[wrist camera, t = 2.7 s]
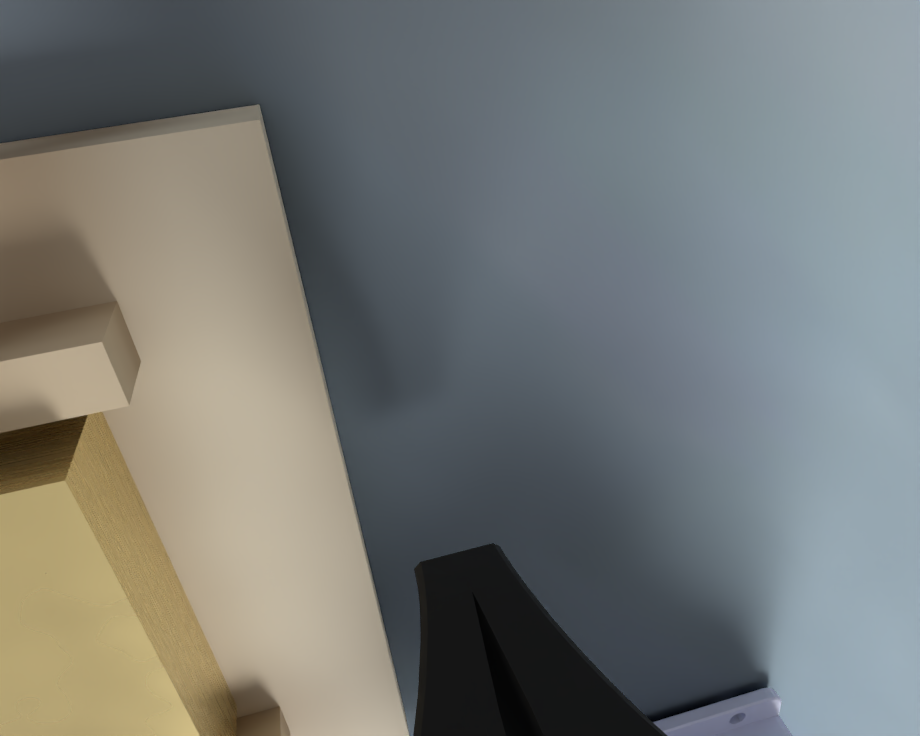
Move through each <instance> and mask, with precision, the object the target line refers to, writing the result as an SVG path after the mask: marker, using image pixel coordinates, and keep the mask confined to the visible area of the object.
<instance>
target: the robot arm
mask: <svg viewBox="0 0 920 736" xmlns="http://www.w3.org/2000/svg"><path fill="white" fill-rule="evenodd" d="M414 570H415V575H416V580H417V585H418V591H419V601H420V623H421V646H420V667H419V687H418V699H417V709H416V718H415V727H414V736H792V734H791V733H790V731H789V730H788V728H787V727H786V725H785V724H784V722H783V721H782V719H781V718H780V716H778V715H779V711H780V707H781V698H780V697H779V696H778V694H777V693H776V691H775V690H774V689H772V688H762V689H759V690H756V691H752V692H749V693H746V694H743V695H739V696H736V697H733V698H730V699H726V700H723V701H720V702H717V703H713V704H710V705H707V706H704V707H700V708H697V709H694V710H691V711H688V712H684V713H681V714H678V715H675V716H671V717H668V718H665V719H662V720H658V721H655V722H652V721H651V720H650V719H648V718H647V717H646V716H645V715H644V714H643V713H642V712H641V711H640V710H639V709H638V708H637V707H636V706H635V705H634V704H633V703H632V702H631V701H630V700H628V699H627V698H626V697H625V696H624V695H623V694H622V693H621V692H620V691H619V690H618V689H617V688H616V687H615V686H614V685H613V684H612V683H611V682H610V681H609V680H608V679H607V678H606V677H605V675H604V674H603V673H602V672H601V671H600V670H599V669H598V668H597V667H596V666H595V665H594V664H593V663H592V662H591V661H590V660H589V659H588V658H587V657H586V656H585V654H584V653H583V652H582V651H581V650H580V649H579V648H578V647H577V646H576V644H575V643H574V642H573V641H572V640H571V639H570V638H569V637H568V635H567V634H566V633H565V632H564V631H563V630H562V629H561V627H560V626H559V625H558V624H557V623H556V622H555V621H554V619H553V618H552V617H551V616H550V615H549V613H548V612H547V611H546V610H545V609H544V607H543V606H542V605H541V604H540V602H539V601H538V600H537V598H536V597H535V596H534V595H533V593H532V592H531V591H530V590H529V588H528V587H527V586H526V584H525V583H524V582H523V580H522V579H521V578H520V576H519V575H518V573H517V572H516V571H515V569H514V568H513V566H512V565H511V563H510V562H509V560H508V559H507V557H506V556H505V554H504V553H503V551H502V549H501V548H500V547H499V546H498V545H496V544H494V543H492V544H488V545H484V546H480V547H477V548H473V549H469V550H465V551H461V552H457V553H453V554H450V555H446V556H442V557H438V558H434V559H430V560H426V561H422V562H420V563H419V564H418V565H417V566H416V567H415V569H414Z"/></svg>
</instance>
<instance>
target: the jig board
mask: <svg viewBox="0 0 920 736" xmlns="http://www.w3.org/2000/svg"><path fill="white" fill-rule="evenodd" d="M98 412H103V414H104V416H105V418H106V421H107V423H108V425H109V427H110V429H111V432H112V434H113V436H114V438H115V440H116V442H117V445H118V447H119V449H120V451H121V453H122V456H123V458H124V460H125V462H126V464H127V467H128V469H129V471H130V473H131V475H132V477H133V480H134V482H135V484H136V486H137V488H138V491H139V493H140V495H141V497H142V499H143V501H144V504H145V506H146V508H147V510H148V512H149V515H150V517H151V519H152V521H153V523H154V526H155V528H156V530H157V532H158V534H159V536H160V539H161V541H162V543H163V545H164V547H165V550H166V552H167V554H168V556H169V558H170V560H171V563H172V565H173V567H174V569H175V571H176V574H177V576H178V578H179V580H180V582H181V584H182V587H183V589H184V591H185V593H186V595H187V598H188V600H189V602H190V604H191V606H192V609H193V611H194V613H195V615H196V617H197V619H198V622H199V624H200V626H201V628H202V630H203V633H204V635H205V637H206V639H207V641H208V643H209V646H210V648H211V650H212V652H213V654H214V657H215V659H216V661H217V663H218V665H219V668H220V670H221V672H222V674H223V676H224V678H225V681H226V683H227V685H228V687H229V689H230V692H231V694H232V696H233V698H234V700H235V702H236V705H237V731H236V736H409V730H408V725H407V720H406V715H405V711H404V706H403V702H402V698H401V694H400V690H399V685H398V681H397V677H396V673H395V669H394V665H393V660H392V656H391V652H390V648H389V644H388V639H387V635H386V631H385V627H384V623H383V619H382V614H381V610H380V606H379V602H378V598H377V594H376V589H375V585H374V581H373V577H372V573H371V568H370V564H369V560H368V556H367V552H366V548H365V543H364V539H363V535H362V531H361V527H360V523H359V518H358V514H357V510H356V506H355V502H354V497H353V493H352V489H351V485H350V481H349V477H348V472H347V468H346V464H345V460H344V456H343V451H342V447H341V443H340V439H339V435H338V431H337V426H336V422H335V418H334V414H333V410H332V406H331V401H330V397H329V393H328V389H327V385H326V380H325V376H324V372H323V368H322V364H321V360H320V355H319V351H318V347H317V343H316V339H315V334H314V330H313V326H312V322H311V318H310V314H309V309H308V305H307V301H306V297H305V293H304V289H303V284H302V280H301V276H300V272H299V268H298V263H297V259H296V255H295V251H294V247H293V243H292V238H291V234H290V230H289V226H288V222H287V218H286V213H285V209H284V205H283V201H282V197H281V192H280V188H279V184H278V180H277V176H276V172H275V167H274V163H273V159H272V155H271V151H270V146H269V142H268V138H267V134H266V130H265V126H264V121H263V117H262V113H261V109H260V105H259V104H258V105H252V106H245V107H238V108H232V109H225V110H218V111H212V112H205V113H198V114H192V115H185V116H179V117H172V118H165V119H159V120H152V121H145V122H139V123H132V124H126V125H119V126H112V127H106V128H99V129H92V130H86V131H79V132H72V133H66V134H59V135H53V136H46V137H39V138H33V139H26V140H19V141H13V142H6V143H0V433H2V432H7V431H12V430H17V429H21V428H26V427H31V426H36V425H40V424H45V423H50V422H55V421H60V420H64V419H69V418H74V417H79V416H83V415H88V414H93V413H98Z"/></svg>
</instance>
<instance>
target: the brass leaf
mask: <svg viewBox="0 0 920 736" xmlns="http://www.w3.org/2000/svg"><path fill="white" fill-rule="evenodd" d="M236 731H237V705H236V702H235V700H234V698H233V696H232V694H231V692H230V689H229V687H228V685H227V683H226V681H225V678H224V676H223V674H222V672H221V670H220V668H219V665H218V663H217V661H216V659H215V657H214V654H213V652H212V650H211V648H210V646H209V643H208V641H207V639H206V637H205V635H204V633H203V630H202V628H201V626H200V624H199V622H198V619H197V617H196V615H195V613H194V611H193V609H192V606H191V604H190V602H189V600H188V598H187V595H186V593H185V591H184V589H183V587H182V584H181V582H180V580H179V578H178V576H177V574H176V571H175V569H174V567H173V565H172V563H171V560H170V558H169V556H168V554H167V552H166V550H165V547H164V545H163V543H162V541H161V539H160V536H159V534H158V532H157V530H156V528H155V526H154V523H153V521H152V519H151V517H150V515H149V512H148V510H147V508H146V506H145V504H144V501H143V499H142V497H141V495H140V493H139V491H138V488H137V486H136V484H135V482H134V480H133V477H132V475H131V473H130V471H129V469H128V467H127V464H126V462H125V460H124V458H123V456H122V453H121V451H120V449H119V447H118V445H117V442H116V440H115V438H114V436H113V434H112V432H111V429H110V427H109V425H108V423H107V421H106V418H105V416H104V414H103V412H98V413H93V414H88V415H83V416H79V417H74V418H69V419H64V420H60V421H55V422H50V423H45V424H40V425H36V426H31V427H26V428H21V429H17V430H12V431H7V432H2V433H0V736H236Z"/></svg>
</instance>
